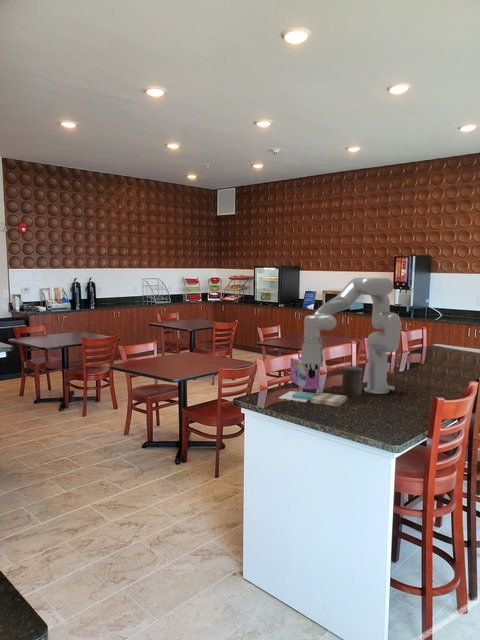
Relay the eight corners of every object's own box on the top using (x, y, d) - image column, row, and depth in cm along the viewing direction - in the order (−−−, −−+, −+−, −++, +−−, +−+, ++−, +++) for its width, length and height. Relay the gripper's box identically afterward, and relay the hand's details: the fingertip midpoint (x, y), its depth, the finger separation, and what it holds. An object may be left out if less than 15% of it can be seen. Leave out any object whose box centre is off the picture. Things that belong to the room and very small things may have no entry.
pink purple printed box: (288, 380, 281) (288, 357, 280) (300, 379, 283) (301, 356, 282) (306, 389, 258) (306, 364, 257) (319, 389, 260) (320, 364, 259)
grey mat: (316, 395, 246) (316, 394, 246) (305, 402, 231) (305, 401, 231) (290, 392, 252) (290, 391, 252) (278, 398, 238) (278, 397, 238)
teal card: (316, 396, 241) (316, 393, 241) (311, 400, 234) (311, 397, 233) (297, 394, 245) (297, 391, 245) (292, 397, 238) (292, 394, 238)
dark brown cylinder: (347, 397, 243) (348, 367, 242) (338, 392, 253) (339, 364, 251) (364, 396, 246) (366, 367, 245) (355, 391, 255) (356, 363, 254)
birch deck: (346, 399, 237) (347, 395, 237) (339, 406, 225) (339, 402, 225) (319, 396, 244) (319, 392, 244) (310, 402, 231) (310, 398, 231)
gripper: (329, 340, 236) (328, 377, 238) (300, 339, 243) (300, 374, 245) (324, 342, 229) (324, 380, 231) (294, 341, 236) (294, 378, 238)
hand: (311, 377), depth 238 cm, fingers closed
